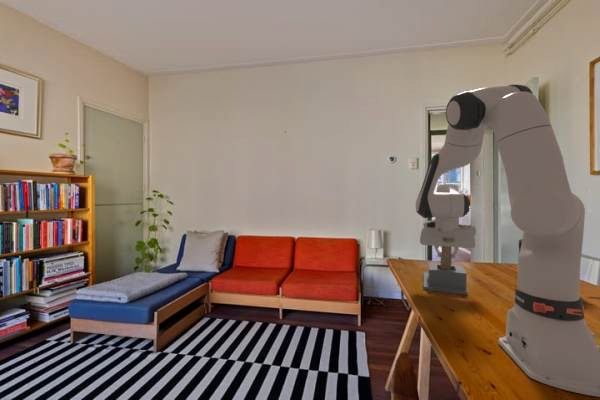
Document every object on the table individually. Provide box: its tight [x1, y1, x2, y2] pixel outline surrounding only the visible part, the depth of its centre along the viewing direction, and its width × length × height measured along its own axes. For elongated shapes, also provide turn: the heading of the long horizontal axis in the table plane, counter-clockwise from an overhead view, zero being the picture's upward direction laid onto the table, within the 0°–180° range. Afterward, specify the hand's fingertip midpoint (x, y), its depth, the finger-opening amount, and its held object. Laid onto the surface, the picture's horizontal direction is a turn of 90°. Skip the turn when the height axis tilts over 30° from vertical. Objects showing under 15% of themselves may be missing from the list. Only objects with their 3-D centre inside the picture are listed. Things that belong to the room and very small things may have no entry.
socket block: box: [423, 262, 469, 296], centre depth 118 cm, size 22×15×7 cm
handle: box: [440, 237, 455, 270], centre depth 116 cm, size 5×6×15 cm
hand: (446, 257), depth 116 cm, fingers open, 4 cm apart
